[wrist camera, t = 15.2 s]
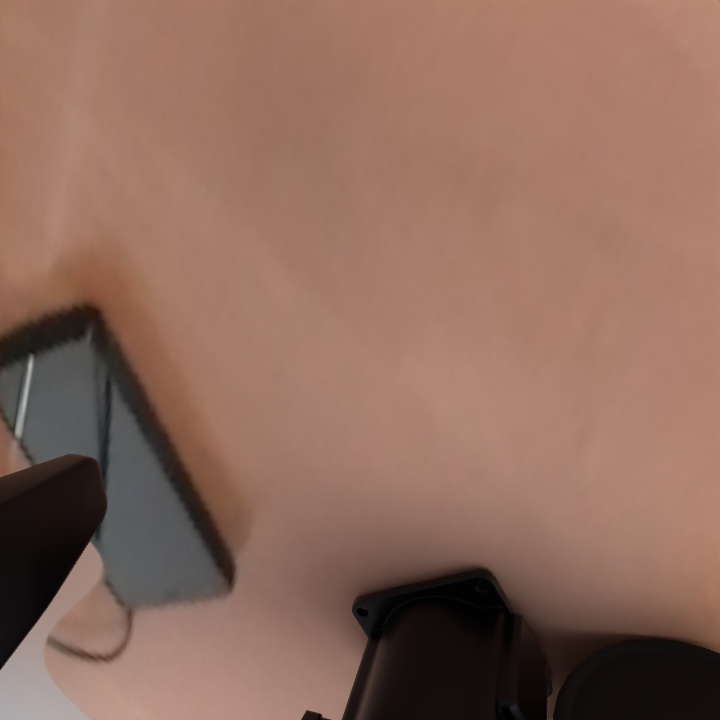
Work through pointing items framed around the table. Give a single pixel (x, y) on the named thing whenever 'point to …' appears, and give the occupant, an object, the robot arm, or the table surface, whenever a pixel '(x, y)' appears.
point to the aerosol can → (643, 683)
